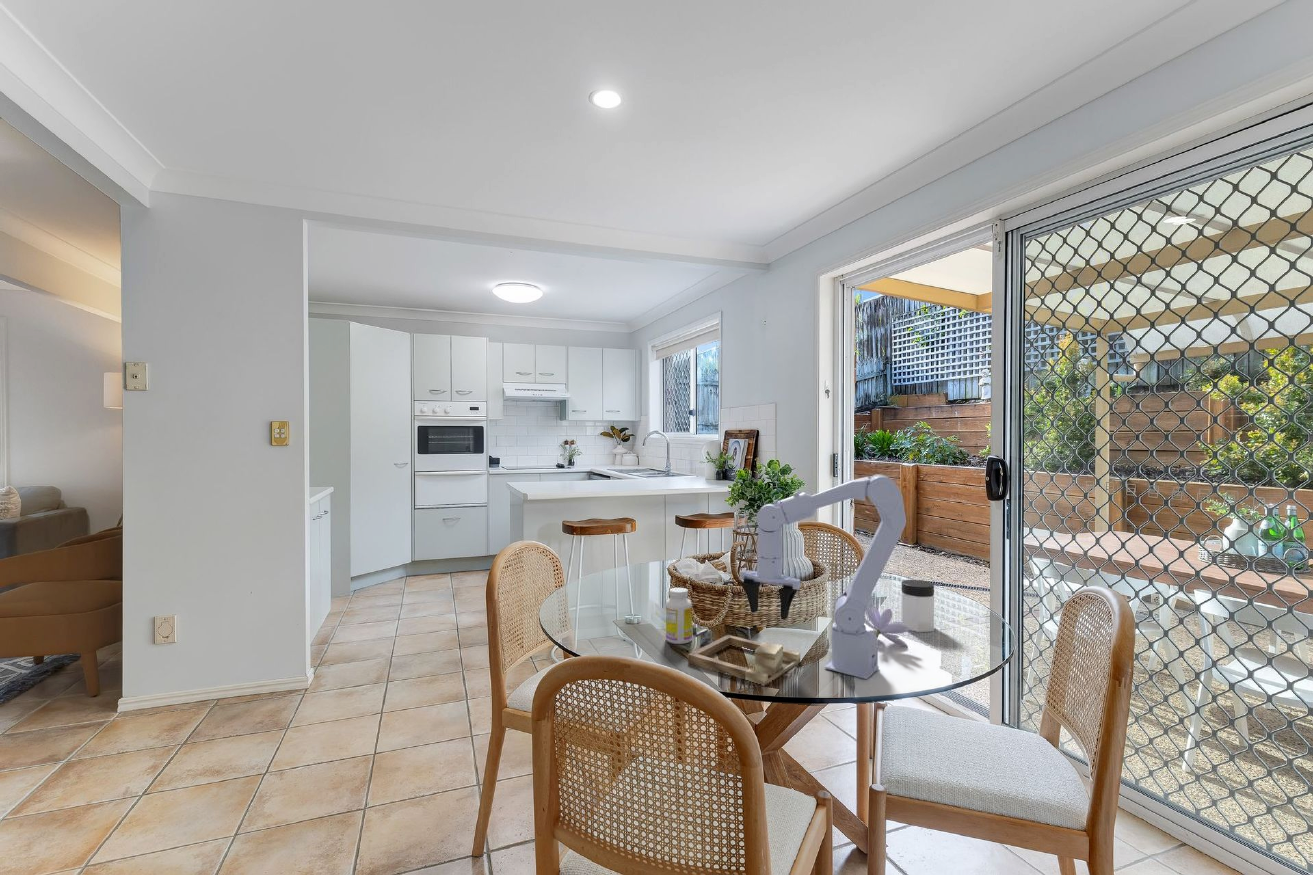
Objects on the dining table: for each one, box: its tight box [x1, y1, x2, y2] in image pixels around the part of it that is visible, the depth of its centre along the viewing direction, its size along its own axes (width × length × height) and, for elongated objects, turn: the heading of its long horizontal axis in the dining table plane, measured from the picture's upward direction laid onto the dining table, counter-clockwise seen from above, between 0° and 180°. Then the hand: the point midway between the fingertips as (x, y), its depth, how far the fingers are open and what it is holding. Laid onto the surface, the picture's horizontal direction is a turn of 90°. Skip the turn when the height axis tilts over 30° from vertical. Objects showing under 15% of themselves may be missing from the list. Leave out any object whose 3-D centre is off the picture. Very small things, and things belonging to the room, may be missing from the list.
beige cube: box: [753, 641, 784, 677], centre depth 134 cm, size 5×6×5 cm
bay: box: [687, 634, 801, 685], centre depth 138 cm, size 20×17×2 cm
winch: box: [692, 626, 713, 647], centre depth 148 cm, size 7×3×5 cm, turn 141°
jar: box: [900, 579, 935, 633], centre depth 163 cm, size 9×8×12 cm
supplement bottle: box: [665, 587, 693, 645], centre depth 152 cm, size 7×7×13 cm
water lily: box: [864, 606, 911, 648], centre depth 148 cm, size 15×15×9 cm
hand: (769, 614), depth 139 cm, fingers open, 7 cm apart
